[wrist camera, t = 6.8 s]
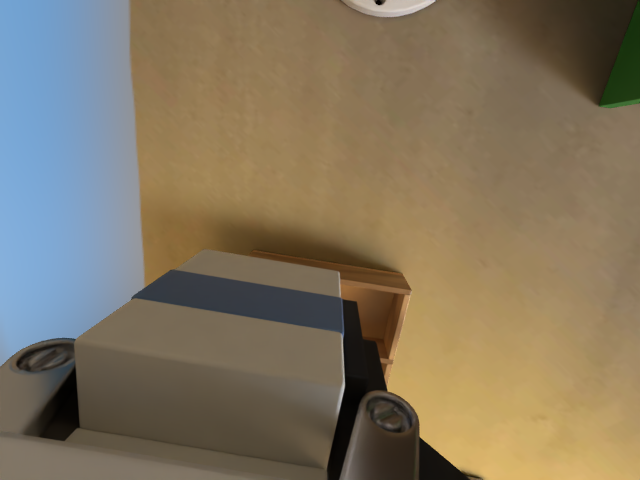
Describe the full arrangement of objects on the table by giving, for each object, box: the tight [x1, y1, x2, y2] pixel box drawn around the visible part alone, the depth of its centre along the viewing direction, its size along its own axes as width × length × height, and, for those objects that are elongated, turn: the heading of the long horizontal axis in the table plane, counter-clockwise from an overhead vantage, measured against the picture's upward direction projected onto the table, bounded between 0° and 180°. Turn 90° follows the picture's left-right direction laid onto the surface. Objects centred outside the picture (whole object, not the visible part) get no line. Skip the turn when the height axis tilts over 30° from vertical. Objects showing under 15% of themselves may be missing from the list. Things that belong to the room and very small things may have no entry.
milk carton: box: [65, 249, 345, 480], centre depth 8 cm, size 5×5×6 cm
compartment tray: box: [248, 250, 412, 387], centre depth 29 cm, size 21×14×4 cm
